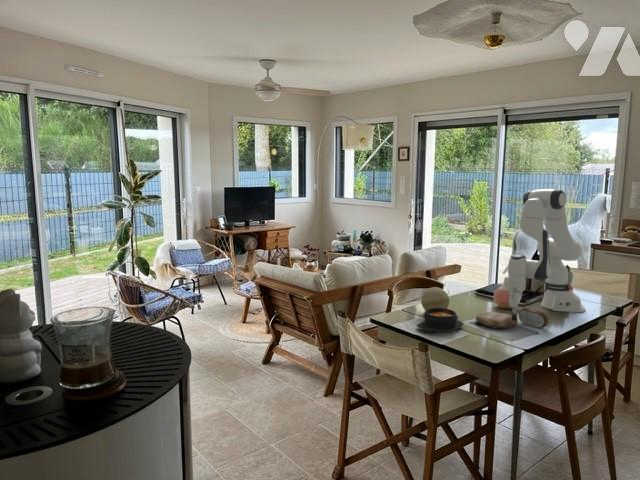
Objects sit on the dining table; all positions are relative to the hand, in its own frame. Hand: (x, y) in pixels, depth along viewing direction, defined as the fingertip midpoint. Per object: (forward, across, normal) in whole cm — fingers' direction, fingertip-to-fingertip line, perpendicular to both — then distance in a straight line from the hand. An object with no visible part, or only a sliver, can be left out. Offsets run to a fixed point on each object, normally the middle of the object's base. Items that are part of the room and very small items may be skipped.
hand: (514, 311), depth 249 cm
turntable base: (+6, -7, +8) cm, 12 cm away
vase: (+5, +24, +7) cm, 26 cm away
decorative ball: (+6, -6, +40) cm, 41 cm away
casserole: (+6, -28, +31) cm, 42 cm away
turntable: (+4, -7, +8) cm, 11 cm away
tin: (+6, -2, -9) cm, 11 cm away
